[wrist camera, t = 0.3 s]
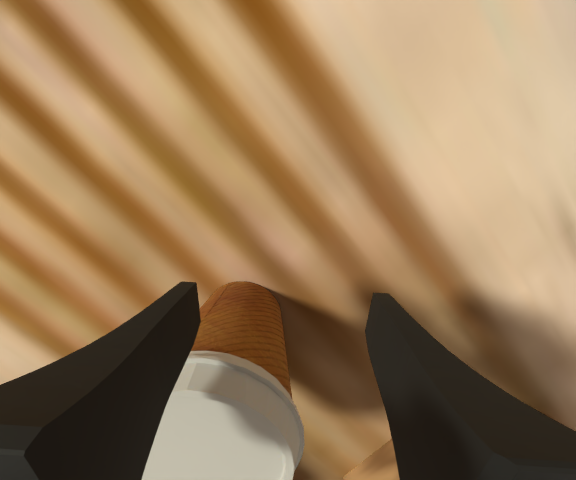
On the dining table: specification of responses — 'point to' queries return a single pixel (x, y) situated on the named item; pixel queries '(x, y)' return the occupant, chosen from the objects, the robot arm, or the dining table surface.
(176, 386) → the disposable coffee cup
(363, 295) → the dining table surface
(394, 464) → the slat
